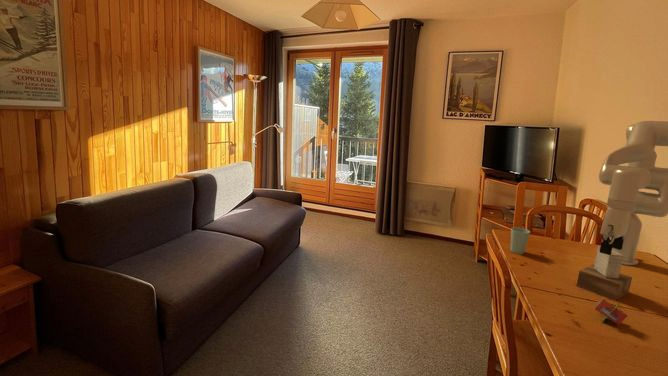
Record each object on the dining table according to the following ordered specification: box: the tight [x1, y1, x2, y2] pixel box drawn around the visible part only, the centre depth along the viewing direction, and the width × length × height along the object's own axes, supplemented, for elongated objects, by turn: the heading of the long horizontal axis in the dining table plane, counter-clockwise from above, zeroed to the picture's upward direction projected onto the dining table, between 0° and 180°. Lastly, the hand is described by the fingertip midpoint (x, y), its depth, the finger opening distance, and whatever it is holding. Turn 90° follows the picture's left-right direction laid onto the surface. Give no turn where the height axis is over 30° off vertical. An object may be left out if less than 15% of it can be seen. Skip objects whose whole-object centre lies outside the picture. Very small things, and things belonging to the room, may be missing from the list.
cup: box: [510, 227, 531, 255], centre depth 160 cm, size 8×8×10 cm
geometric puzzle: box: [594, 298, 628, 326], centre depth 105 cm, size 7×7×8 cm
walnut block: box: [576, 264, 633, 302], centre depth 126 cm, size 12×12×6 cm
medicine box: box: [593, 246, 623, 279], centre depth 125 cm, size 8×4×9 cm, turn 169°
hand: (610, 251), depth 124 cm, fingers open, 9 cm apart
